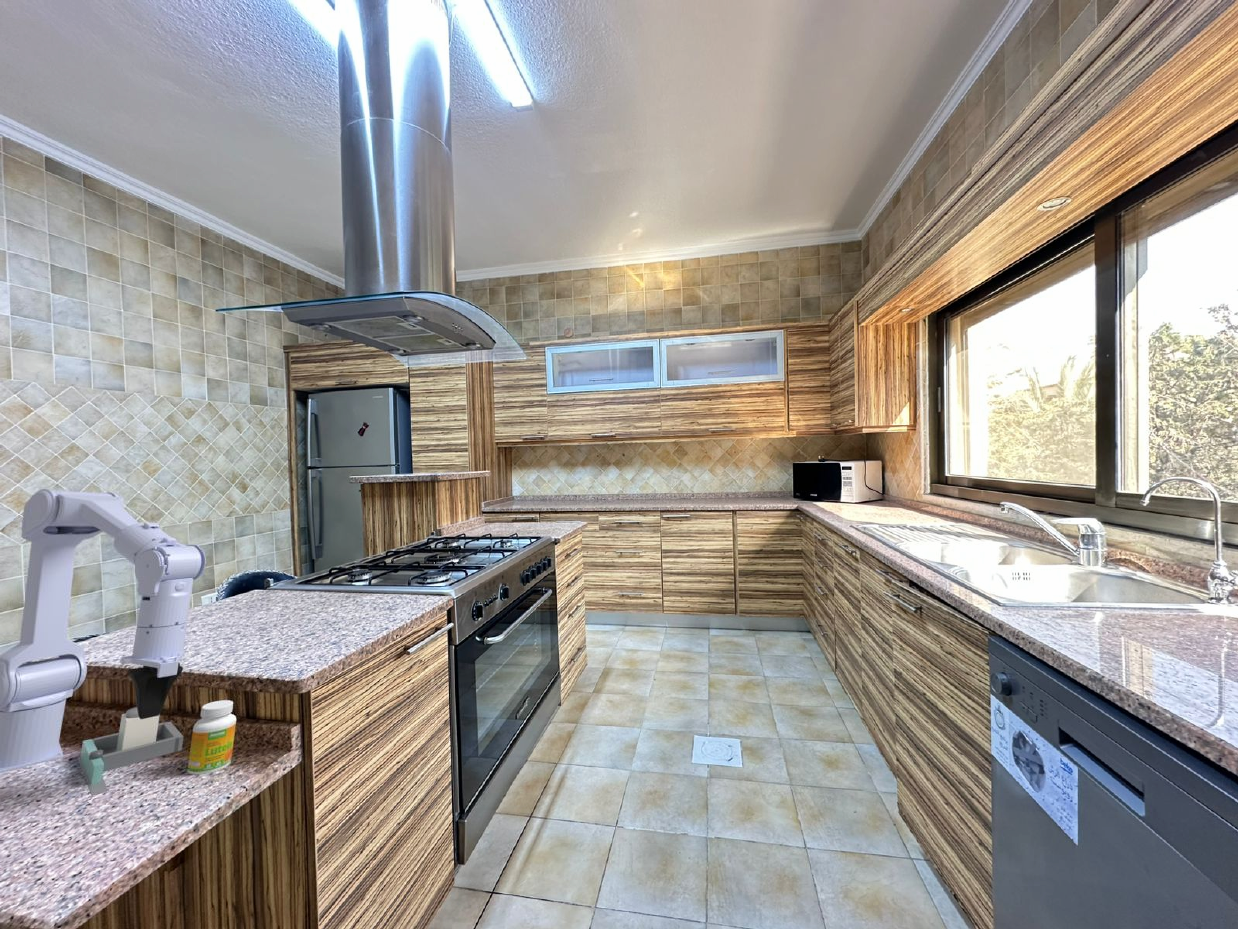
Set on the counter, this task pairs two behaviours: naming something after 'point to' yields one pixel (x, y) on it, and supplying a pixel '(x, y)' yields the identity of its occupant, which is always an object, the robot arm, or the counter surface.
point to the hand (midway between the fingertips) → (149, 716)
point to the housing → (133, 752)
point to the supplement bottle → (212, 738)
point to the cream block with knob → (136, 730)
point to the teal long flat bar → (92, 761)
